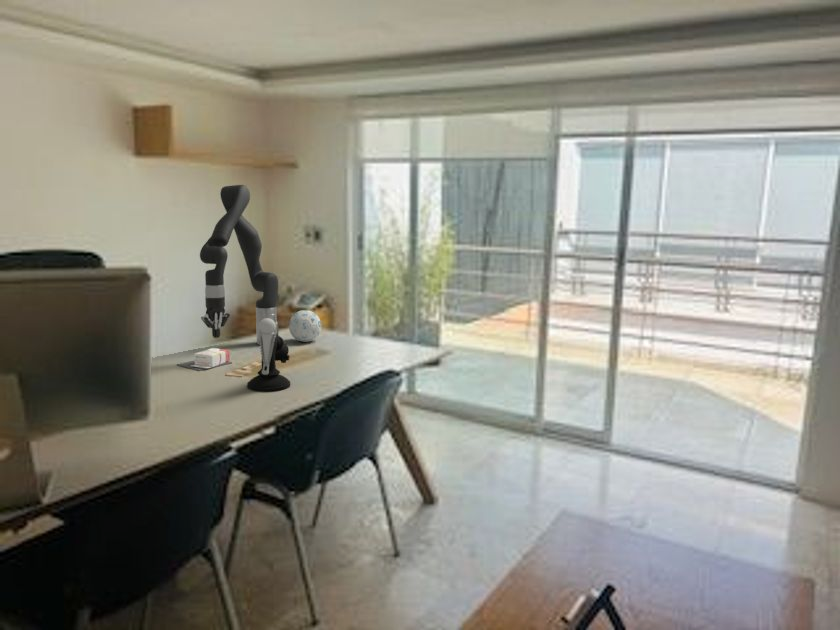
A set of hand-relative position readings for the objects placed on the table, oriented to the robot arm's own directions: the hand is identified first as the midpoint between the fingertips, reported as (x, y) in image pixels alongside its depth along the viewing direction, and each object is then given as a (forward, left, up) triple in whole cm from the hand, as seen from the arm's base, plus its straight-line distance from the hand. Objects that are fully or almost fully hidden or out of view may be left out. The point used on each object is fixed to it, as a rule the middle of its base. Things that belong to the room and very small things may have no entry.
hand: (216, 337), depth 269 cm
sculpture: (+7, +41, -10) cm, 43 cm away
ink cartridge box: (-2, 0, -7) cm, 7 cm away
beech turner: (+2, +20, -10) cm, 23 cm away
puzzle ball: (-51, 0, -10) cm, 52 cm away
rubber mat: (+6, 0, -10) cm, 12 cm away
